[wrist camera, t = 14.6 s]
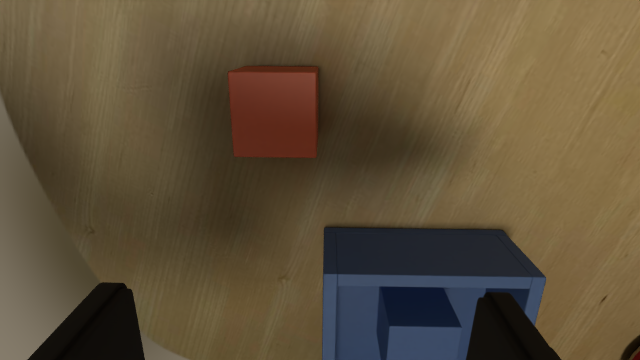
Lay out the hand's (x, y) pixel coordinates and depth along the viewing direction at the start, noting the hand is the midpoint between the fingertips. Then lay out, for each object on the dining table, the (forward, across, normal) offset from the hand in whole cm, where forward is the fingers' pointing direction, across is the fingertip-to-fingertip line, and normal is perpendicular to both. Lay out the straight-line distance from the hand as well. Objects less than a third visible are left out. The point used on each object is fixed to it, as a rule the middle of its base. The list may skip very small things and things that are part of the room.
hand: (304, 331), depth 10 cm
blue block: (+15, -7, +11) cm, 20 cm away
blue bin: (+16, -7, +11) cm, 21 cm away
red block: (+16, +2, -4) cm, 16 cm away
